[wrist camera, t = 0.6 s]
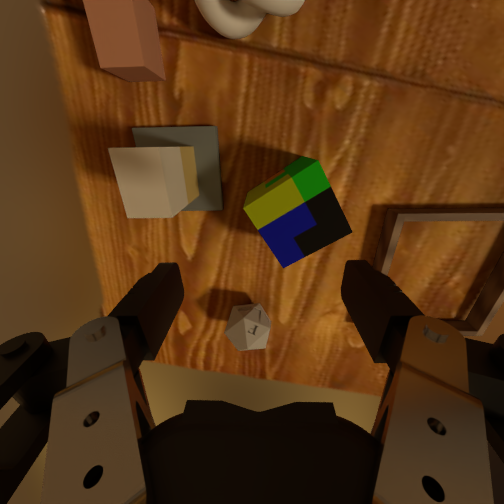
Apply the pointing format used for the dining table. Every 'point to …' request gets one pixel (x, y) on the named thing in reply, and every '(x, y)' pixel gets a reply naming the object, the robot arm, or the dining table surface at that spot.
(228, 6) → the white knot
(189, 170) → the brick mustard
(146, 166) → the brick white
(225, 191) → the dining table surface
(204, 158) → the baseplate
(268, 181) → the puzzle toy
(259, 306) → the die
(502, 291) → the tray frame
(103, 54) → the brick terracotta
